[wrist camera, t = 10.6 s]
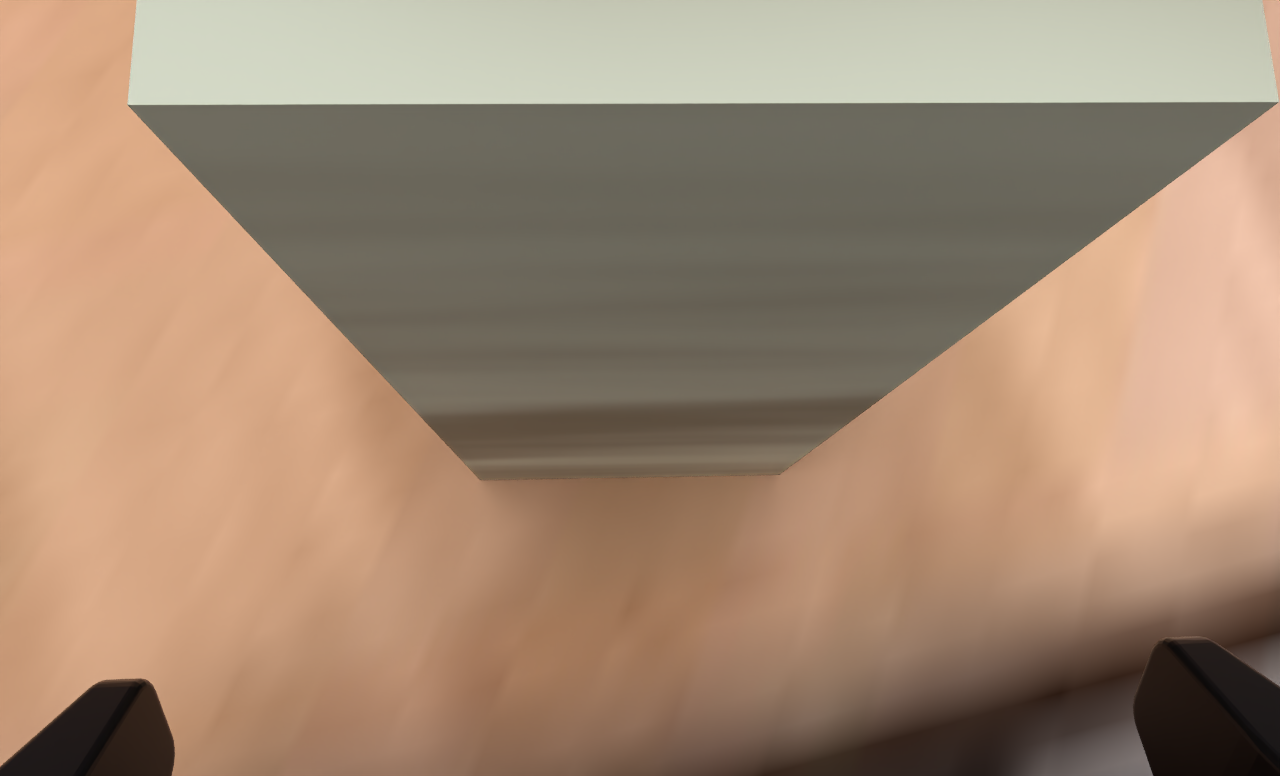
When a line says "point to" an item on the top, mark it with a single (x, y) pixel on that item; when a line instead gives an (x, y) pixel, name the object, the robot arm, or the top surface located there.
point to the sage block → (680, 192)
